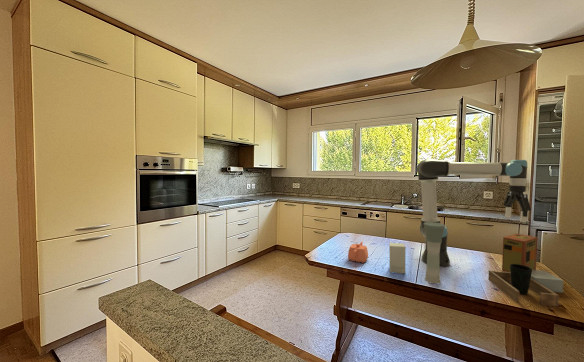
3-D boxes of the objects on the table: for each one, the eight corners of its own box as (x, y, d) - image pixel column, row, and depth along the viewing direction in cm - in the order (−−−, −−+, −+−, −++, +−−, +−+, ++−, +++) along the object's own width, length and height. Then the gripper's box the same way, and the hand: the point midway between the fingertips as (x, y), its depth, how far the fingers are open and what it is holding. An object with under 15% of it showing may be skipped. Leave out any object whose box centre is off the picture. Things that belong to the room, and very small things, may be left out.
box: (522, 278, 128) (524, 241, 127) (501, 271, 136) (503, 237, 135) (535, 271, 136) (537, 237, 135) (515, 266, 144) (516, 233, 143)
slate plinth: (534, 290, 116) (535, 277, 115) (518, 279, 126) (519, 268, 126) (562, 292, 113) (563, 280, 113) (544, 282, 124) (545, 270, 123)
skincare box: (404, 269, 139) (404, 243, 138) (405, 274, 133) (406, 247, 132) (388, 267, 142) (389, 242, 141) (389, 272, 136) (389, 245, 135)
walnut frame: (516, 302, 105) (516, 291, 105) (488, 279, 127) (488, 270, 126) (558, 306, 102) (559, 295, 102) (522, 282, 123) (522, 273, 123)
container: (436, 286, 119) (438, 227, 118) (418, 278, 128) (419, 223, 126) (447, 282, 124) (449, 224, 122) (429, 275, 132) (430, 221, 131)
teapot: (345, 262, 150) (345, 246, 150) (353, 253, 166) (353, 238, 165) (363, 266, 144) (363, 249, 144) (370, 256, 160) (370, 241, 159)
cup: (504, 288, 118) (505, 264, 117) (518, 287, 118) (519, 263, 118) (520, 296, 110) (521, 270, 109) (535, 295, 111) (537, 270, 110)
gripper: (541, 186, 133) (538, 224, 135) (510, 183, 158) (509, 215, 159) (525, 186, 135) (522, 223, 136) (497, 183, 159) (496, 215, 161)
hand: (515, 219), depth 148 cm, fingers open, 13 cm apart
